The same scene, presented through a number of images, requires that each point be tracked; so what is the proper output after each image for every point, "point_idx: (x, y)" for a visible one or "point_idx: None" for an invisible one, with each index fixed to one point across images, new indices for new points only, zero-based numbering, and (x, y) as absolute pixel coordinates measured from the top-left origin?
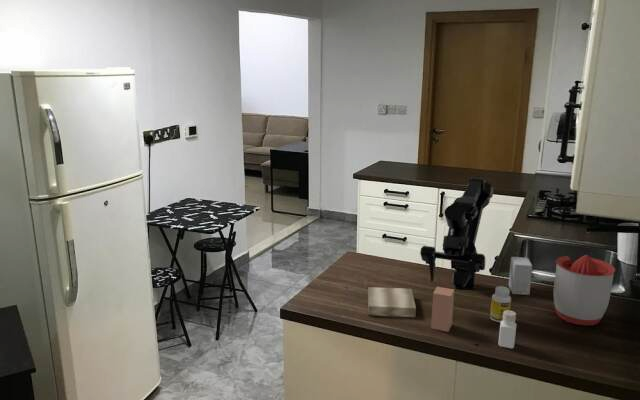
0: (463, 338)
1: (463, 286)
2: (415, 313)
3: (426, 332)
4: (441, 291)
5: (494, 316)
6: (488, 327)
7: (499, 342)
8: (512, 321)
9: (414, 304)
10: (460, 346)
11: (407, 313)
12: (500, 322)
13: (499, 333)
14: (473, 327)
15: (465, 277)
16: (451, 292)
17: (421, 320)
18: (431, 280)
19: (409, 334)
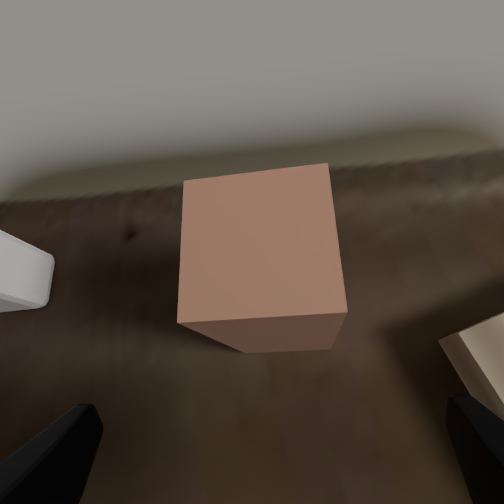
0: (178, 252)
1: (94, 418)
2: (445, 337)
3: None
4: (274, 223)
5: None
6: None
7: (43, 251)
8: None
9: (494, 382)
10: (182, 193)
11: (486, 319)
12: None
13: (17, 242)
14: (148, 370)
15: (2, 482)
16: (191, 247)
17: (392, 321)
18: (458, 396)
19: (383, 175)
